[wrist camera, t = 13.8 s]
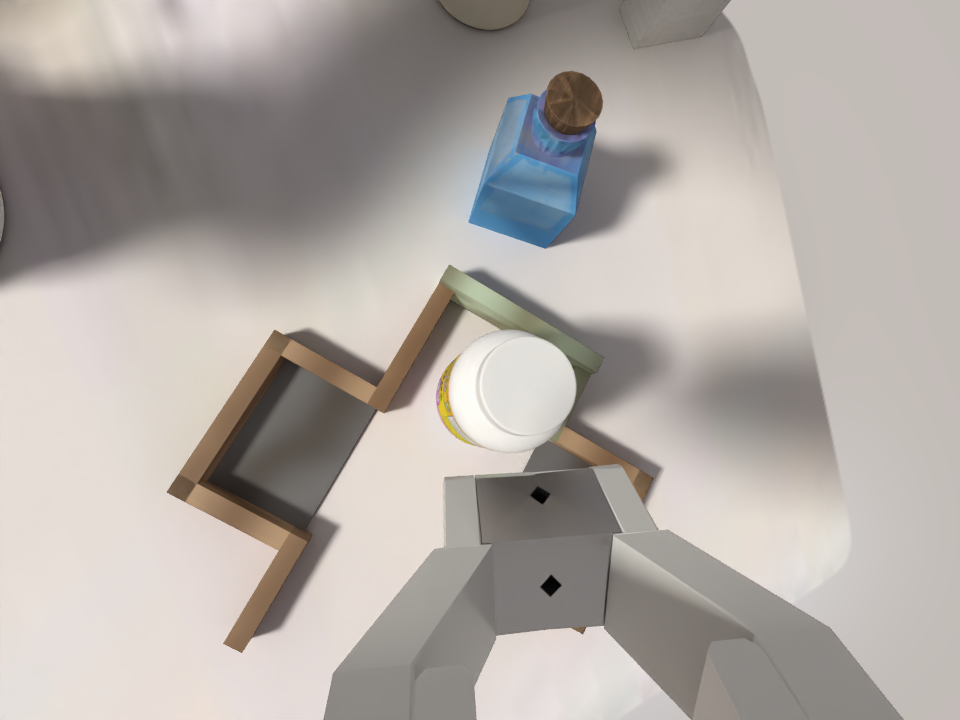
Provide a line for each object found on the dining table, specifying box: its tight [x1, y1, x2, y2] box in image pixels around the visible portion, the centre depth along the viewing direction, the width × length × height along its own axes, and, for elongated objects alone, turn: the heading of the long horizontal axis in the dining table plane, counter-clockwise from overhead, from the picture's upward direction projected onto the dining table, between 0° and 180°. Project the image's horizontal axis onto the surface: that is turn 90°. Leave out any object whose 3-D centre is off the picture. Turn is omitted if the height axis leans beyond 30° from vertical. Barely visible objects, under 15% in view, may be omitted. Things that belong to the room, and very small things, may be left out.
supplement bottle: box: [436, 329, 576, 453], centre depth 29 cm, size 7×7×13 cm
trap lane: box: [167, 265, 653, 653], centre depth 33 cm, size 27×27×3 cm
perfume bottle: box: [469, 71, 603, 249], centre depth 32 cm, size 6×6×12 cm
